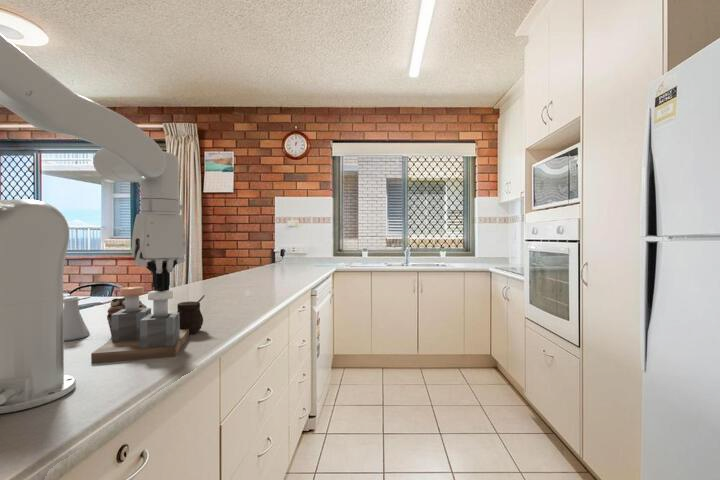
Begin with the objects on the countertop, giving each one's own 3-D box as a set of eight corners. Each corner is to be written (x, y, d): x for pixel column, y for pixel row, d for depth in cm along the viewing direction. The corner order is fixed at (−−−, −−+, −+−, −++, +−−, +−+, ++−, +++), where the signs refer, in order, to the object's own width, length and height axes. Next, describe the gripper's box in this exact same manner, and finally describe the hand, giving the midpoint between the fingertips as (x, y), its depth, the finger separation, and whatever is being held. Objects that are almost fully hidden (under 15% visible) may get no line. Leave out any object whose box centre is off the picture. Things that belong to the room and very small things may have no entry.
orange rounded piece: (140, 314, 83) (140, 289, 83) (116, 315, 82) (116, 289, 82) (146, 310, 88) (146, 286, 88) (124, 311, 87) (124, 287, 87)
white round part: (170, 319, 78) (169, 292, 78) (145, 321, 77) (145, 293, 77) (175, 315, 83) (174, 289, 82) (151, 316, 81) (151, 290, 81)
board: (175, 356, 77) (175, 319, 77) (91, 363, 73) (91, 323, 73) (188, 336, 92) (188, 305, 92) (119, 341, 87) (119, 309, 87)
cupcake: (136, 339, 90) (136, 299, 90) (97, 339, 90) (97, 299, 90) (157, 329, 100) (157, 293, 99) (122, 329, 99) (122, 293, 99)
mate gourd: (173, 330, 98) (174, 294, 98) (204, 328, 101) (204, 292, 101) (172, 337, 91) (173, 298, 91) (204, 334, 95) (205, 296, 95)
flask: (96, 334, 94) (96, 296, 94) (71, 342, 87) (71, 301, 87) (71, 333, 95) (71, 296, 95) (44, 341, 88) (44, 301, 88)
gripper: (180, 210, 88) (181, 285, 88) (114, 207, 75) (116, 294, 75) (200, 209, 84) (201, 287, 84) (135, 205, 71) (136, 297, 71)
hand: (161, 290), depth 80 cm, fingers closed
